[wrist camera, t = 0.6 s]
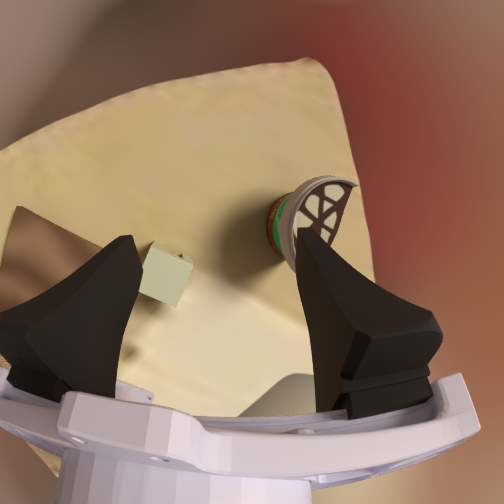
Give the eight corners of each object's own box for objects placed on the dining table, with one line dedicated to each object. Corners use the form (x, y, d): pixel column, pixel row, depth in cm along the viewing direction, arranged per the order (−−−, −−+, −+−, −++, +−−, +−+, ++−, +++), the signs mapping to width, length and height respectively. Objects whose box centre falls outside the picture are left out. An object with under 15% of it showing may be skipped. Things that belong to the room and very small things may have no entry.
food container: (279, 165, 36) (315, 151, 27) (317, 186, 38) (360, 180, 29) (241, 251, 37) (266, 265, 27) (282, 269, 38) (317, 287, 29)
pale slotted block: (175, 293, 35) (175, 307, 30) (139, 277, 33) (133, 289, 28) (191, 257, 35) (194, 265, 30) (154, 241, 33) (150, 246, 28)
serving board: (85, 359, 32) (82, 364, 31) (-2, 310, 28) (-7, 313, 26) (118, 255, 32) (116, 257, 31) (22, 206, 28) (16, 206, 26)
